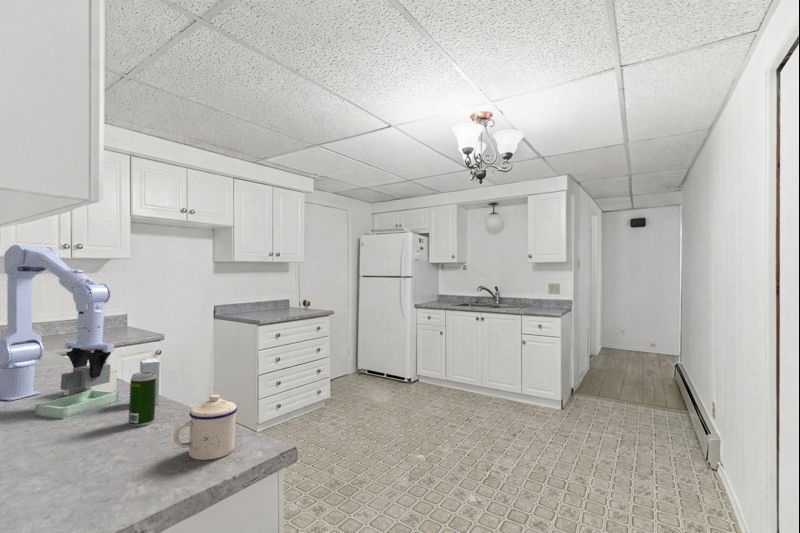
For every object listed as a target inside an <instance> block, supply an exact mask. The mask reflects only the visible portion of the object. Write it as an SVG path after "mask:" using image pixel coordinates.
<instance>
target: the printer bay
mask: <svg viewBox="0 0 800 533" xmlns="http://www.w3.org/2000/svg"><path fill="white" fill-rule="evenodd" d="M69 372H70V371H67V373H69ZM71 372H73V370H72V371H71ZM117 380H118V369H116V368H110V381H109V382H108V383H104V384H100V385H96V386H92V387H88V388H78V387H76V388H72V389H68V390H64V394H63V395H64V396H71V395H74V394H78V393H81V392H85V391H89V390H92V389H94V390H103V391H112V392H115V391H114V390H116V391H117Z"/></svg>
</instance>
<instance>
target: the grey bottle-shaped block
mask: <svg viewBox="0 0 800 533" xmlns="http://www.w3.org/2000/svg"><path fill="white" fill-rule="evenodd" d="M110 369H111V364H109V363H108V364H107V363H104V366H103V368H102V371H101V374H100V377H96V378H91V377H90V365H89V364H87V366H82V367H77V368H74V367H72V371H73V372H72V371H68V372H69V373H68V372H64V373H61V379H60V380H61V381H60V390H61V391H62V390H63V391H65V390H68V389H72V388H76V387H78V388H88V387H92V386H96V385H100V384H104V383H108V382H109V381H110Z"/></svg>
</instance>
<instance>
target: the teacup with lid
mask: <svg viewBox="0 0 800 533" xmlns="http://www.w3.org/2000/svg"><path fill="white" fill-rule="evenodd" d="M237 411H238V407H237V405H236V403H234V402H232V401H227V400H226V399H222V398H221V397H220V395H219V394H211V395H209V397H208V399H207V400H205V401H204V402H201V403H199V404H195V405H194V406H193V407H192V408H191V409H190V411H189V417H190V418H189V421H184V422H182V423H181V424H179V425H177V427H175V430H174V432H173V440H174V442H175V444H176V445H177V446H178V447H180V448H182V449H183V448H186V449H187V448H188V455H189V457H191V459H194V460H198V461H209V460H210V461H211V460H217V459H220V458H223V457H225V456H228V455H229V454H231V453H233V451H234V450H235V438H236V437H235V436H236V416H237ZM186 427H189V441H188V442H182V441H180V438H179V435H180V432H181V431H182V430H183V429H184V428H186Z"/></svg>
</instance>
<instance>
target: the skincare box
mask: <svg viewBox="0 0 800 533" xmlns="http://www.w3.org/2000/svg"><path fill="white" fill-rule="evenodd" d="M160 364H161V363H160V361H159V360H158V359H157V358H147V359H140V360H139V365H140V366H139V373H141V372H155V373H156V374H155V375H156V397H155V406H156V405H157V406H158V405H159V404H160Z"/></svg>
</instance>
